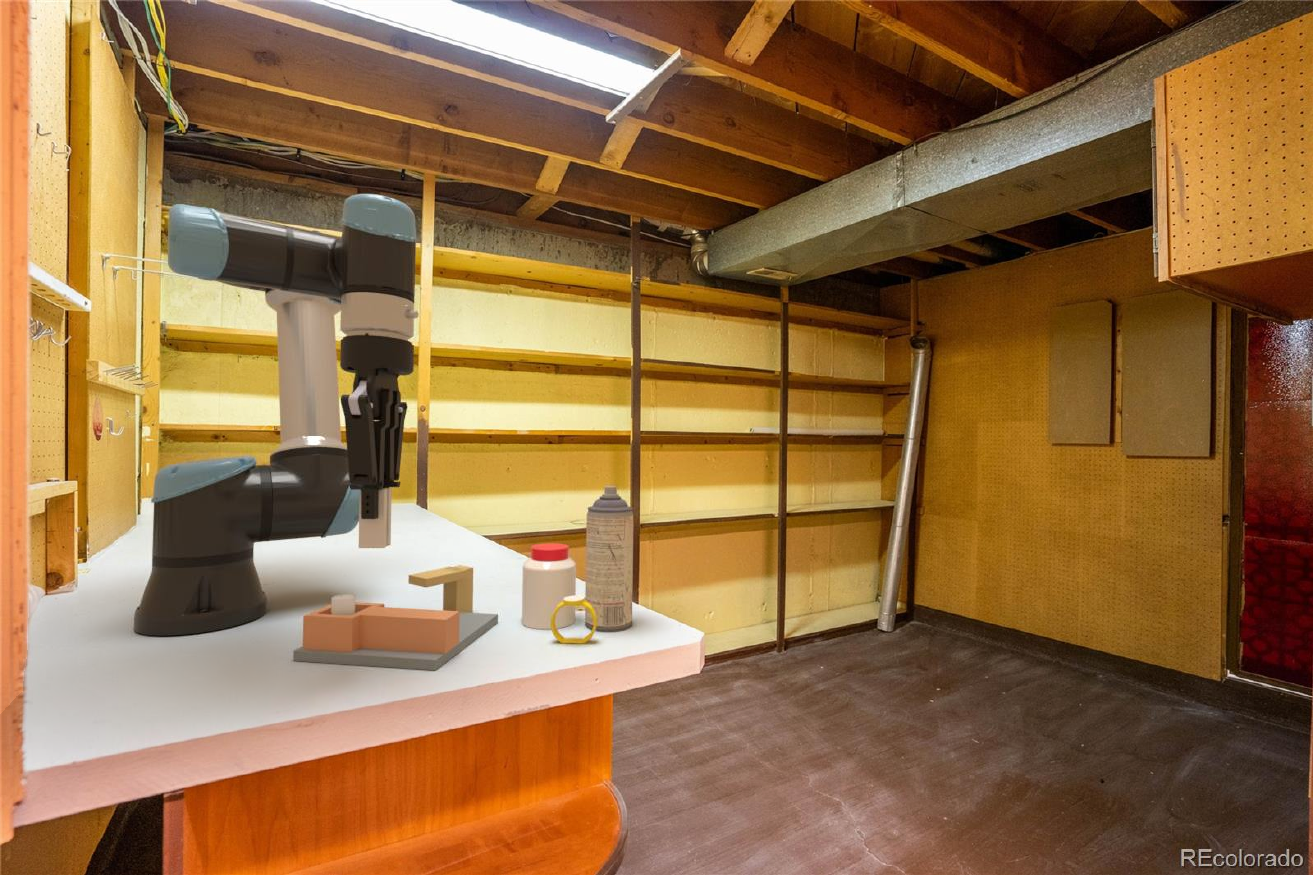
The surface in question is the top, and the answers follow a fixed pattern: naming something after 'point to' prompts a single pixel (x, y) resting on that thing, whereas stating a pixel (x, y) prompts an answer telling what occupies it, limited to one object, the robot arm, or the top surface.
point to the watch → (573, 602)
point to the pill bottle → (548, 586)
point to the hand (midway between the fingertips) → (374, 546)
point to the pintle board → (470, 628)
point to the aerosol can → (609, 562)
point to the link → (382, 629)
